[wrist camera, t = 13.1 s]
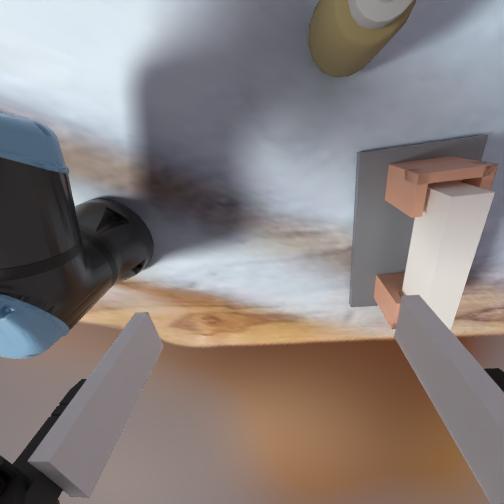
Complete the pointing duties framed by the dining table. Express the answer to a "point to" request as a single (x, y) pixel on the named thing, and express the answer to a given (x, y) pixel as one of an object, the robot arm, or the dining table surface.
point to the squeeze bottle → (353, 32)
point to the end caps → (401, 210)
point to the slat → (445, 245)
